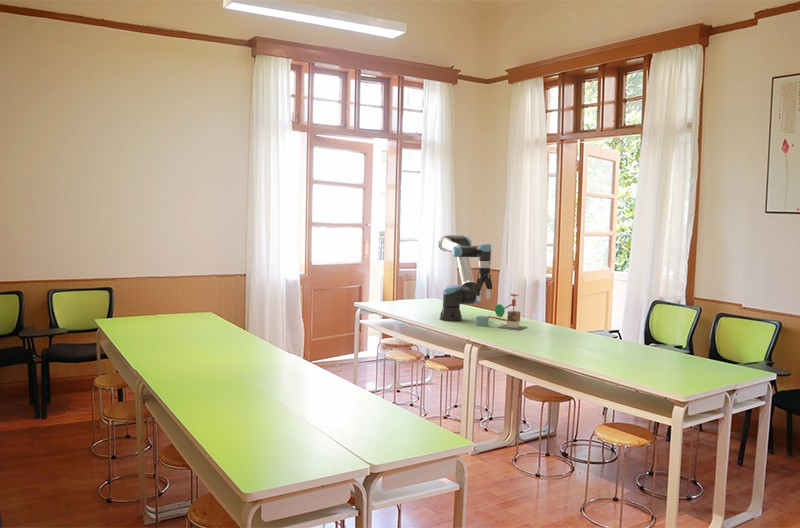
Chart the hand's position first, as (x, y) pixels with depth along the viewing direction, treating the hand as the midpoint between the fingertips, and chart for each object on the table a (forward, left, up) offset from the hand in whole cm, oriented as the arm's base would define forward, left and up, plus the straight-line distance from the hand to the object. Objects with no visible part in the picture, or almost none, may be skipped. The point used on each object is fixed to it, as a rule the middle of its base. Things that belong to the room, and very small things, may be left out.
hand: (483, 299), depth 432 cm
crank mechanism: (+1, +32, -17) cm, 36 cm away
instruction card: (+9, +12, -17) cm, 23 cm away
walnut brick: (+19, +6, -12) cm, 24 cm away
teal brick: (0, 0, -17) cm, 17 cm away
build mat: (+19, +6, -17) cm, 26 cm away
